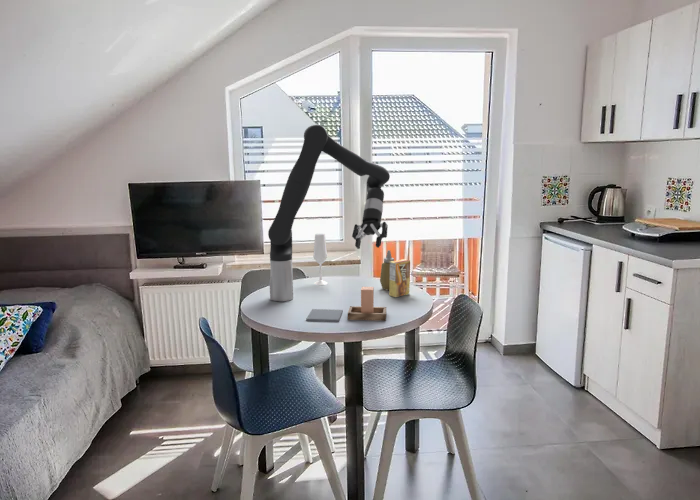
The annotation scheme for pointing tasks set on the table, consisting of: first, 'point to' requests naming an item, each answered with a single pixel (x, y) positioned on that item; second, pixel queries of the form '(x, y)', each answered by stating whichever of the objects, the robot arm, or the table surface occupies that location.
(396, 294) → the candy box
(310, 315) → the slate mat
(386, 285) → the squeeze bottle
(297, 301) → the table surface
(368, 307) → the terracotta block
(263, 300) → the table surface
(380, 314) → the walnut cradle
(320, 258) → the champagne flute
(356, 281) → the table surface
